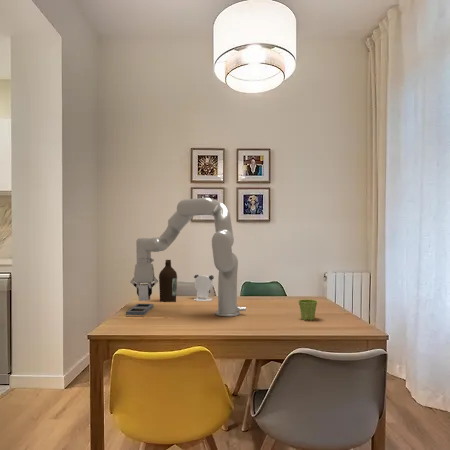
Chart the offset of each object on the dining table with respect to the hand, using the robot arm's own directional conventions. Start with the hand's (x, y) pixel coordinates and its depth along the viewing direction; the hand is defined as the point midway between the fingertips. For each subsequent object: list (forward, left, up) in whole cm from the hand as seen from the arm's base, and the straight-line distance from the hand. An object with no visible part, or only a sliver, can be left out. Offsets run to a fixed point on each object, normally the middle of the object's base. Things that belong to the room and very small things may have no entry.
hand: (144, 295), depth 216 cm
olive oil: (-8, -24, -8) cm, 27 cm away
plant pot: (-83, +17, -8) cm, 85 cm away
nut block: (0, 0, -2) cm, 3 cm away
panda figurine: (-28, -35, -8) cm, 45 cm away
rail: (+1, +6, -8) cm, 10 cm away
